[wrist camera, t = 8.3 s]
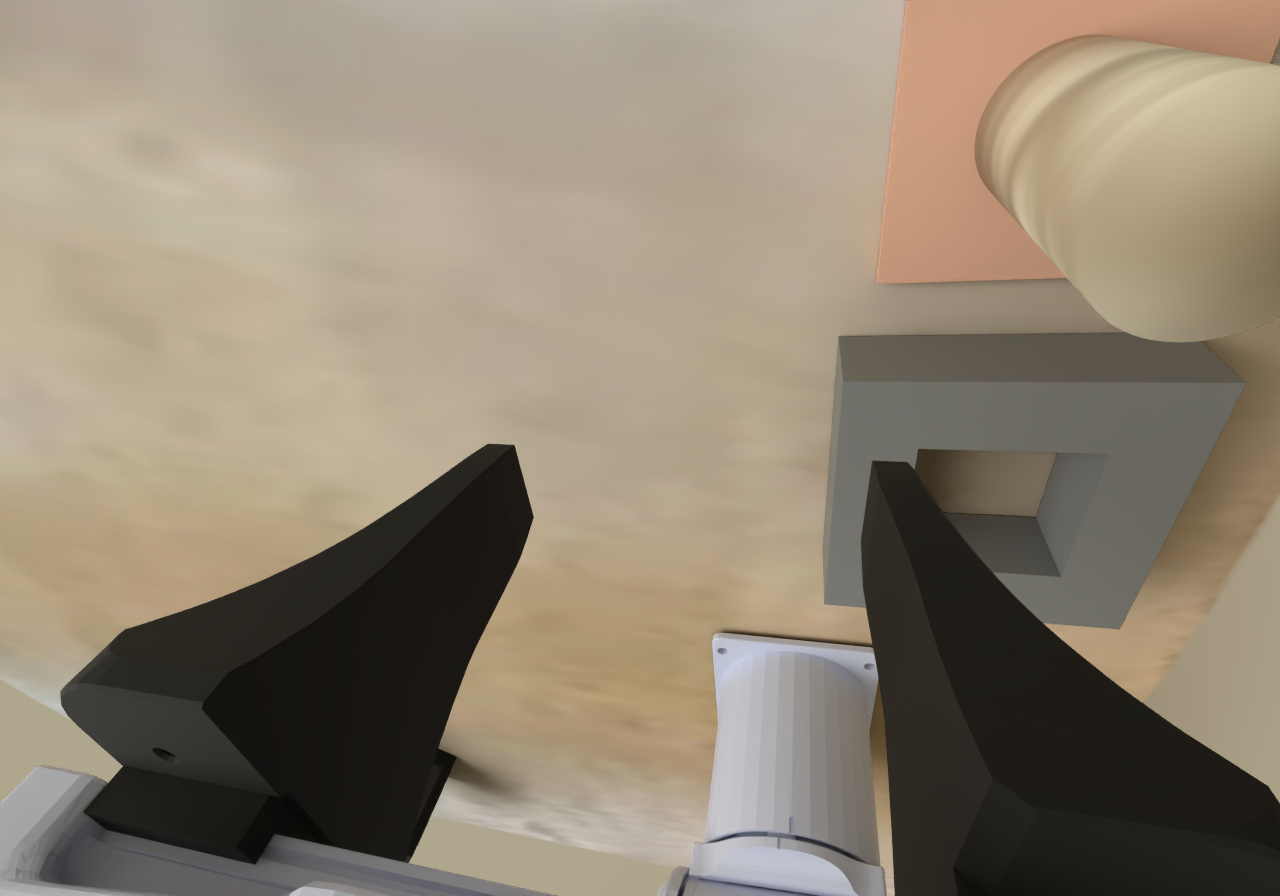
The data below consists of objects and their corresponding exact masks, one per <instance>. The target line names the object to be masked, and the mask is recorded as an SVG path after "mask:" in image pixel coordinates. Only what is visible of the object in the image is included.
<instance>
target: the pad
mask: <svg viewBox="0 0 1280 896" xmlns="http://www.w3.org/2000/svg"><path fill="white" fill-rule="evenodd" d="M1084 35H1107V36H1114V37H1119V38H1125V39H1131V40H1137V41H1142V42H1148V43H1154V44H1160V45H1165V46H1171V47H1177V48H1183V49H1189V50H1194V51H1200V52H1206V53H1212V54H1217V55H1223V56H1229V57H1235V58H1240V59H1246V60H1252V61H1258V62H1263V63H1269V64H1270V62H1271V59H1272V57H1273V54H1274V52H1275V49H1276V47H1277V44H1278V42H1279V39H1280V0H906V6H905V16H904V25H903V34H902V44H901V53H900V62H899V72H898V81H897V91H896V100H895V109H894V119H893V128H892V137H891V147H890V156H889V165H888V175H887V184H886V193H885V203H884V212H883V221H882V231H881V240H880V249H879V259H878V268H877V277H876V278H877V282H878V284H890V283H922V282H953V281H985V280H1016V279H1048V278H1066V277H1065V275H1064V274H1063V273H1062V272H1061V271H1060V270H1059V269H1058V268H1057V266H1056V265H1055V264H1054V263H1053V262H1052V261H1051V260H1050V259H1049V257H1048V256H1047V255H1046V254H1045V253H1044V252H1043V251H1042V250H1041V248H1040V247H1039V246H1038V245H1037V244H1036V243H1035V242H1034V241H1033V239H1032V238H1031V237H1030V236H1029V235H1028V234H1027V233H1026V232H1025V230H1024V229H1023V228H1022V227H1021V226H1020V225H1019V224H1018V223H1017V221H1016V220H1015V219H1014V218H1013V217H1012V216H1011V215H1010V214H1009V212H1008V211H1007V210H1006V209H1005V208H1004V207H1003V206H1002V205H1001V203H1000V202H999V201H998V200H997V199H996V198H995V197H994V196H993V194H992V193H991V192H990V191H989V190H988V189H987V187H986V186H985V185H984V183H983V181H982V179H981V178H980V176H979V173H978V170H977V167H976V161H975V138H976V133H977V129H978V125H979V122H980V119H981V117H982V114H983V112H984V110H985V108H986V106H987V104H988V102H989V100H990V99H991V97H992V96H993V94H994V92H995V91H996V90H997V88H998V87H999V86H1000V85H1001V83H1002V82H1003V81H1004V80H1005V79H1006V78H1007V77H1008V76H1009V75H1010V73H1011V72H1012V71H1013V70H1015V69H1016V68H1017V67H1018V66H1019V65H1020V64H1022V63H1023V62H1024V61H1025V60H1027V59H1028V58H1030V57H1031V56H1032V55H1034V54H1035V53H1037V52H1039V51H1041V50H1042V49H1044V48H1046V47H1048V46H1050V45H1053V44H1055V43H1057V42H1060V41H1063V40H1066V39H1069V38H1072V37H1078V36H1084Z"/></svg>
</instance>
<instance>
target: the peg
mask: <svg viewBox="0 0 1280 896" xmlns="http://www.w3.org/2000/svg"><path fill="white" fill-rule="evenodd" d="M975 161H976V167H977V170H978V173H979V176H980V178H981V179H982V181H983V183H984V185H985V186H986V187H987V189H988V190H989V191H990V192H991V193H992V194H993V196H994V197H995V198H996V199H997V200H998V201H999V202H1000V203H1001V205H1002V206H1003V207H1004V208H1005V209H1006V210H1007V211H1008V212H1009V214H1010V215H1011V216H1012V217H1013V218H1014V219H1015V220H1016V221H1017V223H1018V224H1019V225H1020V226H1021V227H1022V228H1023V229H1024V230H1025V232H1026V233H1027V234H1028V235H1029V236H1030V237H1031V238H1032V239H1033V241H1034V242H1035V243H1036V244H1037V245H1038V246H1039V247H1040V248H1041V250H1042V251H1043V252H1044V253H1045V254H1046V255H1047V256H1048V257H1049V259H1050V260H1051V261H1052V262H1053V263H1054V264H1055V265H1056V266H1057V268H1058V269H1059V270H1060V271H1061V272H1062V273H1063V274H1064V275H1065V277H1066V278H1067V279H1068V280H1069V281H1070V282H1071V283H1072V284H1073V286H1074V287H1075V288H1076V289H1077V290H1078V291H1079V292H1080V293H1081V295H1082V296H1083V297H1084V298H1085V299H1086V300H1087V301H1088V302H1089V304H1090V305H1091V306H1092V307H1093V308H1094V309H1095V310H1096V311H1097V313H1099V314H1100V315H1101V316H1102V317H1103V318H1104V319H1105V320H1106V321H1107V322H1109V323H1110V324H1112V325H1113V326H1115V327H1117V328H1118V329H1120V330H1122V331H1125V332H1127V333H1129V334H1131V335H1134V336H1138V337H1141V338H1145V339H1149V340H1156V341H1162V342H1196V341H1205V340H1211V339H1218V338H1222V337H1226V336H1230V335H1235V334H1239V333H1242V332H1245V331H1248V330H1251V329H1254V328H1257V327H1259V326H1262V325H1264V324H1267V323H1269V322H1271V321H1274V320H1276V319H1278V318H1280V65H1275V64H1269V63H1263V62H1258V61H1252V60H1246V59H1240V58H1235V57H1229V56H1223V55H1217V54H1212V53H1206V52H1200V51H1194V50H1189V49H1183V48H1177V47H1171V46H1165V45H1160V44H1154V43H1148V42H1142V41H1137V40H1131V39H1125V38H1119V37H1114V36H1107V35H1084V36H1078V37H1072V38H1069V39H1066V40H1063V41H1060V42H1057V43H1055V44H1053V45H1050V46H1048V47H1046V48H1044V49H1042V50H1041V51H1039V52H1037V53H1035V54H1034V55H1032V56H1031V57H1030V58H1028V59H1027V60H1025V61H1024V62H1023V63H1022V64H1020V65H1019V66H1018V67H1017V68H1016V69H1015V70H1013V71H1012V72H1011V73H1010V75H1009V76H1008V77H1007V78H1006V79H1005V80H1004V81H1003V82H1002V83H1001V85H1000V86H999V87H998V88H997V90H996V91H995V92H994V94H993V96H992V97H991V99H990V100H989V102H988V104H987V106H986V108H985V110H984V112H983V114H982V117H981V119H980V122H979V125H978V129H977V133H976V138H975Z"/></svg>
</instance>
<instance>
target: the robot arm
mask: <svg viewBox="0 0 1280 896" xmlns="http://www.w3.org/2000/svg"><path fill="white" fill-rule="evenodd" d="M533 518H534V516H533V513H532V509H531V505H530V502H529V498H528V494H527V490H526V487H525V483H524V479H523V475H522V472H521V468H520V464H519V460H518V457H517V453H516V449H515V446H514V445H503V444H487V445H486V446H484V447H482V448H481V449H479V450H478V451H476V452H475V453H473V454H472V455H470V456H469V457H467V458H466V459H464V460H463V461H462V462H460V463H459V464H457V465H456V466H455V467H453V468H452V469H450V470H449V471H448V472H446V473H445V474H444V475H442V476H441V477H439V478H438V479H437V480H435V481H434V482H432V483H431V484H429V485H428V486H427V487H425V488H424V489H422V490H421V491H420V492H418V493H417V494H415V495H414V496H413V497H411V498H410V499H408V500H407V501H405V502H404V503H402V504H401V505H399V506H397V507H396V508H394V509H393V510H391V511H390V512H388V513H387V514H385V515H384V516H382V517H381V518H379V519H378V520H376V521H375V522H373V523H371V524H370V525H368V526H367V527H365V528H363V529H362V530H360V531H358V532H357V533H355V534H353V535H352V536H350V537H348V538H346V539H345V540H343V541H341V542H339V543H337V544H335V545H334V546H332V547H330V548H328V549H326V550H325V551H323V552H321V553H319V554H317V555H315V556H313V557H311V558H309V559H307V560H305V561H303V562H300V563H298V564H296V565H294V566H292V567H290V568H288V569H286V570H284V571H281V572H279V573H277V574H275V575H273V576H271V577H269V578H267V579H264V580H262V581H260V582H257V583H255V584H253V585H250V586H248V587H245V588H243V589H240V590H238V591H236V592H233V593H230V594H228V595H225V596H223V597H220V598H217V599H215V600H212V601H210V602H207V603H204V604H201V605H199V606H196V607H193V608H190V609H187V610H184V611H181V612H178V613H175V614H172V615H169V616H166V617H163V618H160V619H157V620H154V621H151V622H148V623H145V624H142V625H138V626H135V627H132V628H128V629H125V630H124V631H122V632H121V633H120V634H119V635H118V636H117V637H116V638H115V639H114V640H113V641H112V642H111V643H110V644H109V645H108V646H107V647H106V648H105V649H103V650H102V651H101V652H100V653H99V654H98V655H97V656H96V657H95V658H94V659H93V660H92V661H91V662H90V663H89V664H88V665H87V666H86V667H85V668H83V669H82V670H81V671H80V672H79V673H78V674H77V675H76V676H75V677H74V678H73V679H72V680H71V681H70V682H69V683H68V684H67V685H65V687H64V688H63V689H62V690H61V704H62V707H63V709H64V710H65V712H66V713H67V715H68V716H69V717H70V718H71V719H72V720H73V721H74V722H75V723H76V724H77V725H78V726H79V727H80V728H81V729H82V730H83V731H84V732H85V733H86V734H88V735H89V736H90V737H91V738H92V739H93V740H94V741H96V742H97V743H98V744H99V745H100V746H101V747H102V748H103V749H104V750H106V751H107V752H108V753H109V754H110V755H111V756H113V757H114V758H115V759H116V760H117V761H118V762H119V763H120V764H121V765H123V767H122V768H121V769H120V770H119V771H118V773H117V774H116V775H115V776H114V777H113V778H112V780H111V781H110V782H109V783H107V782H106V781H104V780H102V779H100V778H98V777H96V776H93V775H90V774H86V773H82V772H77V771H72V770H67V769H63V768H57V767H53V766H48V765H41V766H37V767H35V768H34V769H33V770H32V772H31V773H29V774H28V776H27V777H26V778H25V779H24V780H23V781H22V782H21V783H20V784H19V785H18V786H17V787H16V788H15V789H14V790H13V791H12V792H11V793H10V794H9V795H8V796H7V797H6V798H5V799H4V800H3V801H2V802H1V803H0V896H556V895H551V894H547V893H542V892H537V891H533V890H529V889H524V888H519V887H515V886H509V885H506V884H501V883H496V882H492V881H487V880H482V879H478V878H474V877H469V876H464V875H460V874H455V873H451V872H446V871H442V870H437V869H432V868H428V867H423V866H419V865H414V864H409V863H405V860H406V856H407V853H408V849H409V845H410V842H411V838H412V834H413V831H414V827H415V823H416V820H417V816H418V812H419V809H420V805H421V801H422V798H423V795H424V792H425V788H426V785H427V782H428V779H429V776H430V772H431V769H432V766H433V763H434V759H435V756H436V753H437V750H438V747H439V744H440V741H441V738H442V735H443V732H444V729H445V726H446V723H447V721H448V718H449V715H450V712H451V709H452V706H453V703H454V701H455V698H456V695H457V693H458V690H459V687H460V685H461V682H462V679H463V677H464V674H465V671H466V669H467V666H468V664H469V661H470V659H471V657H472V655H473V652H474V650H475V648H476V646H477V644H478V642H479V640H480V638H481V636H482V634H483V632H484V630H485V628H486V626H487V624H488V622H489V620H490V618H491V616H492V614H493V612H494V610H495V608H496V606H497V604H498V602H499V600H500V598H501V596H502V594H503V592H504V590H505V588H506V586H507V584H508V582H509V580H510V578H511V576H512V574H513V572H514V570H515V568H516V566H517V563H518V561H519V559H520V557H521V554H522V551H523V548H524V546H525V543H526V540H527V537H528V534H529V530H530V527H531V524H532V521H533ZM861 560H862V580H863V591H864V597H865V603H866V609H867V615H868V621H869V627H870V633H871V638H872V644H873V648H872V647H862V646H852V645H842V644H832V643H822V642H812V641H802V640H792V639H781V638H771V637H761V636H751V635H741V634H731V633H717V634H715V635H714V636H713V641H712V647H713V660H714V673H715V685H716V698H717V711H718V730H717V739H716V747H715V756H714V765H713V773H712V782H711V790H710V799H709V807H708V816H707V824H706V833H705V842H704V843H699V842H694V843H693V847H692V855H691V862H690V868H689V867H682V866H679V867H677V868H675V869H674V870H673V872H672V873H671V875H670V876H669V878H668V879H667V880H666V881H665V882H664V883H663V884H662V885H661V887H660V889H659V891H658V893H657V895H656V896H887V894H886V883H885V872H884V868H883V867H881V866H880V855H879V844H878V832H877V820H876V809H875V797H874V785H873V774H872V762H871V750H870V738H869V731H870V725H871V719H872V714H873V708H874V702H875V697H876V691H877V685H878V680H879V684H880V690H881V696H882V704H883V711H884V719H885V733H886V747H887V761H888V776H889V793H890V810H891V826H892V846H893V867H894V887H895V896H1280V803H1279V802H1278V800H1277V799H1276V797H1275V796H1274V794H1273V793H1272V791H1271V790H1270V788H1269V787H1268V786H1267V785H1265V784H1264V783H1262V782H1261V781H1259V780H1258V779H1256V778H1254V777H1253V776H1251V775H1250V774H1248V773H1247V772H1245V771H1243V770H1242V769H1240V768H1239V767H1237V766H1236V765H1234V764H1233V763H1231V762H1230V761H1228V760H1226V759H1225V758H1223V757H1222V756H1220V755H1219V754H1217V753H1216V752H1214V751H1212V750H1211V749H1209V748H1208V747H1206V746H1205V745H1203V744H1201V743H1200V742H1198V741H1197V740H1195V739H1194V738H1192V737H1190V736H1189V735H1187V734H1186V733H1184V732H1183V731H1181V730H1180V729H1178V728H1177V727H1175V726H1174V725H1172V724H1171V723H1170V722H1168V721H1167V720H1166V719H1164V718H1162V717H1161V716H1160V715H1159V714H1157V713H1155V712H1154V711H1153V710H1152V709H1150V708H1149V707H1147V706H1146V705H1145V704H1143V703H1142V702H1140V701H1139V700H1138V699H1136V698H1135V697H1133V696H1132V695H1131V694H1129V693H1128V692H1127V691H1125V690H1124V689H1123V688H1121V687H1120V686H1119V685H1117V684H1116V683H1115V682H1113V681H1112V680H1111V679H1109V678H1108V677H1107V676H1105V675H1104V674H1103V673H1102V672H1101V671H1099V670H1098V669H1097V668H1096V667H1094V666H1093V665H1092V664H1091V663H1089V662H1088V661H1087V660H1086V659H1085V658H1083V657H1082V656H1081V655H1080V654H1078V653H1077V652H1076V651H1075V650H1073V649H1072V648H1071V647H1070V646H1069V645H1067V644H1066V643H1065V642H1064V641H1062V640H1061V639H1060V638H1059V637H1058V636H1057V635H1056V634H1054V633H1053V632H1052V631H1051V630H1050V629H1049V628H1048V627H1047V626H1045V625H1044V624H1043V623H1042V622H1041V621H1040V620H1039V619H1038V618H1037V617H1036V616H1035V615H1034V614H1033V613H1032V612H1031V611H1030V610H1028V609H1027V608H1026V607H1025V606H1024V605H1023V604H1022V603H1021V602H1020V601H1019V600H1018V599H1017V598H1016V597H1015V596H1014V595H1013V594H1012V593H1011V592H1010V591H1009V589H1008V588H1007V587H1006V586H1005V585H1004V584H1003V583H1002V582H1001V581H1000V580H999V579H998V578H997V577H996V576H995V574H994V573H993V572H992V571H991V570H990V569H989V568H988V567H987V566H986V564H985V563H984V562H983V561H982V560H981V559H980V558H979V556H978V555H977V554H976V553H975V552H974V551H973V549H972V548H971V547H970V546H969V544H968V543H967V542H966V541H965V539H964V538H963V537H962V536H961V534H960V533H959V532H958V531H957V529H956V528H955V527H954V526H953V524H952V523H951V522H950V521H949V519H948V518H947V517H946V515H945V514H944V513H943V511H942V510H941V508H940V507H939V506H938V504H937V503H936V502H935V500H934V499H933V497H932V496H931V494H930V493H929V492H928V490H927V489H926V487H925V486H924V484H923V483H922V481H921V480H920V478H919V477H918V475H917V474H916V472H915V470H914V469H913V467H912V466H911V465H910V464H909V463H908V462H896V461H873V460H872V465H871V472H870V479H869V486H868V493H867V500H866V507H865V514H864V521H863V528H862V535H861Z"/></svg>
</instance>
